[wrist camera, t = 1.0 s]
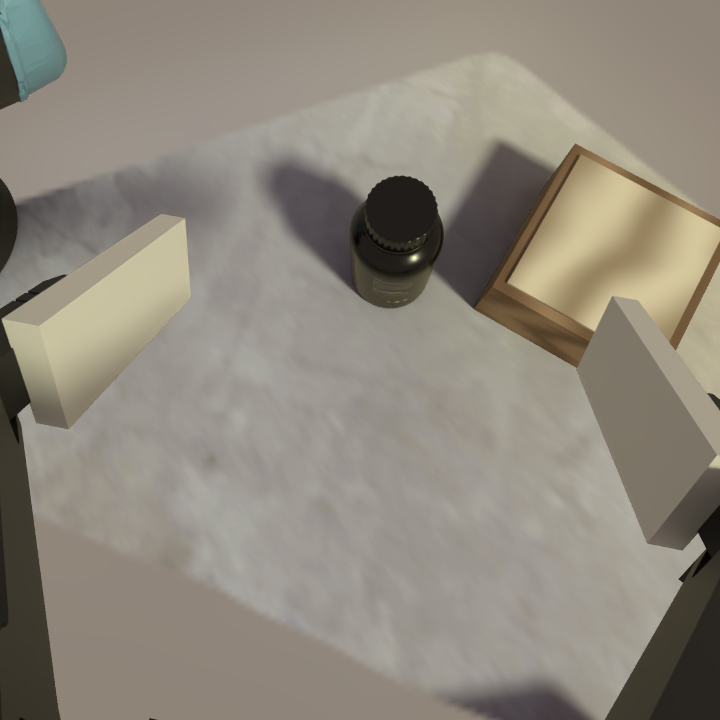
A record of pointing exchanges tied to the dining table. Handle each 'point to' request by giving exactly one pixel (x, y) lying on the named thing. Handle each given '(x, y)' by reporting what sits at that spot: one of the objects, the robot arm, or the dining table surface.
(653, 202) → the walnut riser block
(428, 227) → the supplement bottle
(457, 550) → the dining table surface
